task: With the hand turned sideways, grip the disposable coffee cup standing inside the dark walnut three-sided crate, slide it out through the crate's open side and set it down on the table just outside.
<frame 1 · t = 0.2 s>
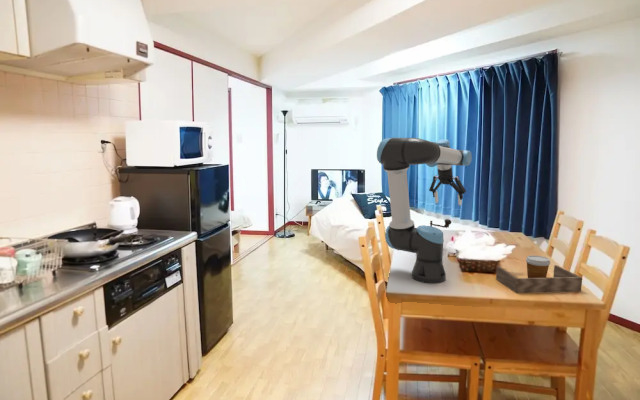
hand: (448, 203, 229), 27 cm above the table, tool tilted 20°, fingers open, 13 cm apart
walnut crate: (536, 285, 179), on the table
disposable coffee cup: (536, 285, 179), on the table
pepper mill: (434, 248, 239), on the table
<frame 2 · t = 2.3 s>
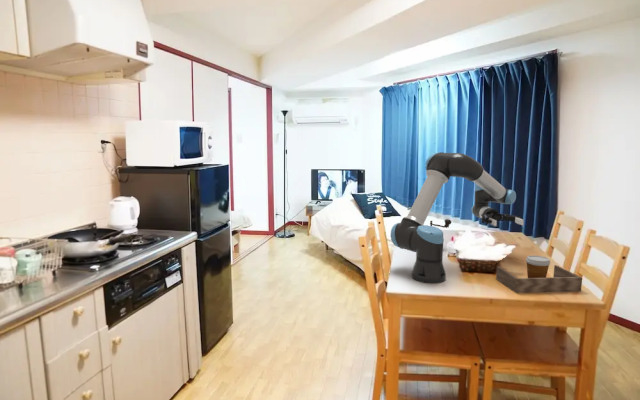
hand: (509, 223, 200), 22 cm above the table, tool horizontal, fingers open, 13 cm apart
nothing on the table moved.
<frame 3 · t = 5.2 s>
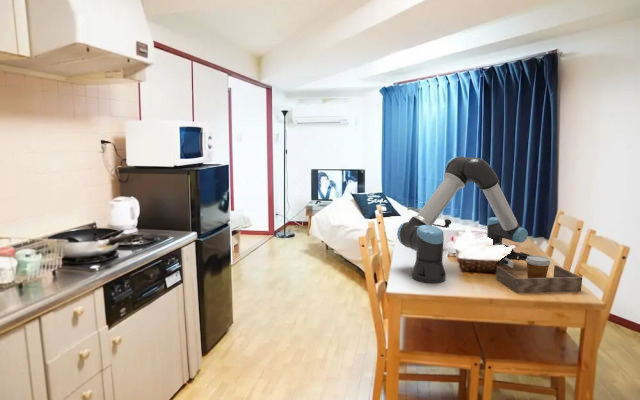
hand: (527, 264, 187), 6 cm above the table, tool horizontal, fingers open, 13 cm apart
nothing on the table moved.
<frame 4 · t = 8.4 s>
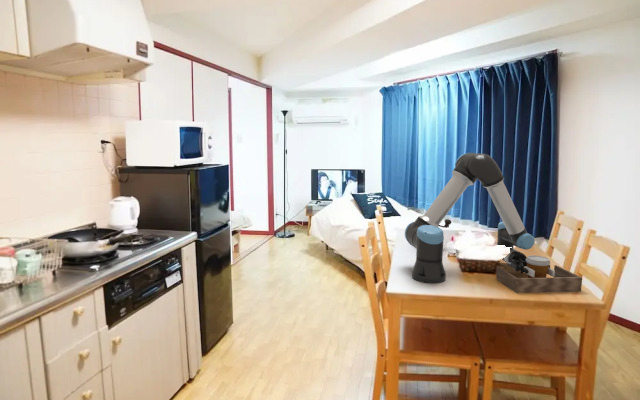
hand: (543, 273, 173), 7 cm above the table, tool horizontal, fingers closed on disposable coffee cup, 8 cm apart
disposable coffee cup: (536, 285, 179), on the table, touching gripper
everything else where it was.
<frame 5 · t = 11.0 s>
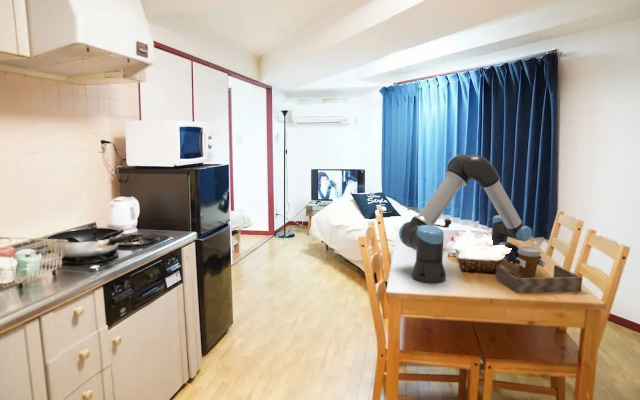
hand: (534, 264, 182), 8 cm above the table, tool horizontal, fingers closed on disposable coffee cup, 8 cm apart
disposable coffee cup: (527, 275, 188), point 1 cm above the table, touching gripper
everything else where it was.
when the fingers open (7 cm above the table, at t = 14.0 s): disposable coffee cup stays where it is, on the table.
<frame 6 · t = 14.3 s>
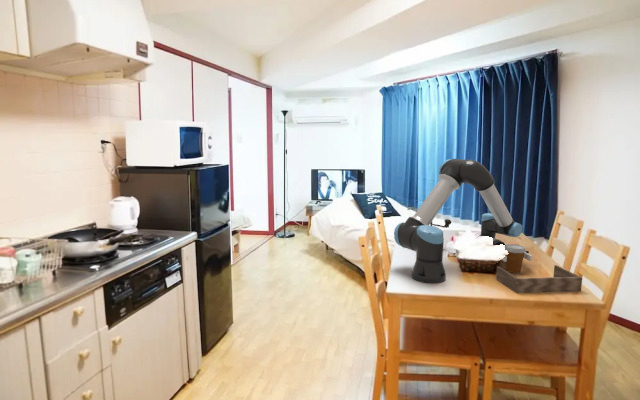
hand: (518, 258, 193), 7 cm above the table, tool horizontal, fingers open, 11 cm apart
disposable coffee cup: (513, 271, 198), on the table
everything else where it was.
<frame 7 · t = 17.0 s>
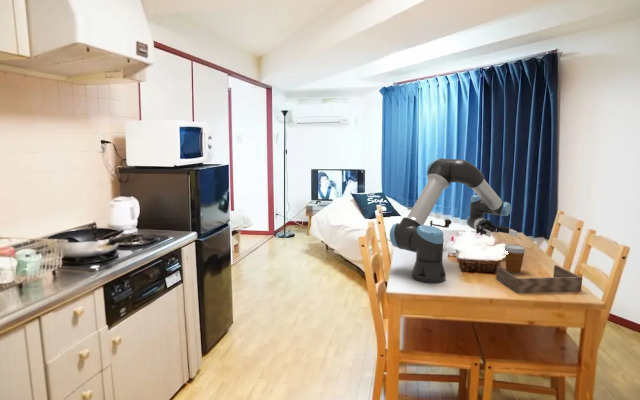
hand: (503, 234, 204), 16 cm above the table, tool horizontal, fingers open, 13 cm apart
nothing on the table moved.
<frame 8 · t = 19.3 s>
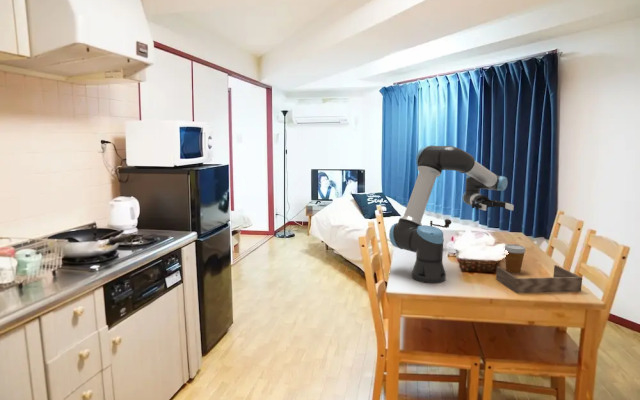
hand: (499, 207, 199), 30 cm above the table, tool horizontal, fingers open, 13 cm apart
nothing on the table moved.
at the end: disposable coffee cup inside the target area (0.3 cm from its centre), on the table; disposable coffee cup tilted 0°; the gripper is holding nothing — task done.
